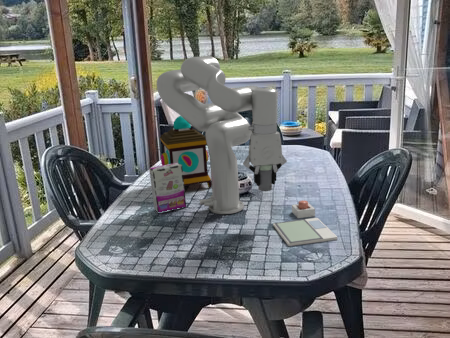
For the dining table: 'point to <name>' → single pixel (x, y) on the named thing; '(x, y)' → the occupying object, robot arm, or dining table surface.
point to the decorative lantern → (186, 152)
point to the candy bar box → (167, 187)
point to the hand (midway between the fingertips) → (265, 183)
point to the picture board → (304, 231)
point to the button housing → (303, 211)
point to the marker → (265, 178)
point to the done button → (303, 205)
